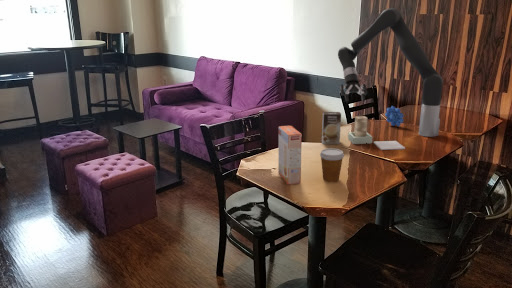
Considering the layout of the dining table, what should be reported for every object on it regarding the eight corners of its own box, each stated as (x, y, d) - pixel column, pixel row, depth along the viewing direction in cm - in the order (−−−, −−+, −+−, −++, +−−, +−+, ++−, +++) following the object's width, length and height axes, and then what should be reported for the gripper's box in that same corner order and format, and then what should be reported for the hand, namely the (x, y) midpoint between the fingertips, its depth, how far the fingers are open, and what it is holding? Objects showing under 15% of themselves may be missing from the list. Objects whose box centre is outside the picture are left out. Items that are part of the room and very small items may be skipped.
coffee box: (322, 144, 206) (323, 114, 201) (321, 140, 212) (322, 111, 207) (340, 144, 205) (341, 114, 200) (338, 140, 211) (339, 111, 206)
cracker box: (301, 183, 157) (302, 133, 150) (287, 185, 156) (287, 134, 149) (291, 171, 170) (291, 124, 164) (278, 172, 169) (277, 125, 162)
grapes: (381, 125, 238) (382, 106, 234) (386, 123, 242) (387, 104, 239) (399, 128, 230) (401, 108, 227) (404, 126, 235) (406, 106, 231)
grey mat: (395, 141, 206) (395, 140, 206) (405, 149, 195) (405, 147, 195) (373, 142, 206) (373, 141, 206) (381, 149, 195) (381, 148, 194)
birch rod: (363, 139, 212) (364, 116, 208) (365, 142, 207) (367, 118, 204) (353, 139, 212) (355, 116, 208) (356, 142, 207) (357, 118, 203)
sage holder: (366, 137, 215) (366, 131, 214) (372, 143, 205) (372, 136, 204) (348, 138, 214) (348, 132, 213) (353, 143, 205) (353, 137, 204)
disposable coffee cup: (316, 175, 164) (317, 148, 161) (339, 174, 165) (340, 147, 162) (322, 184, 155) (323, 156, 152) (345, 183, 156) (347, 155, 152)
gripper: (339, 73, 219) (344, 97, 212) (365, 72, 219) (370, 96, 212) (337, 81, 226) (341, 105, 218) (361, 80, 226) (366, 104, 219)
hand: (355, 100), depth 215 cm, fingers open, 8 cm apart
